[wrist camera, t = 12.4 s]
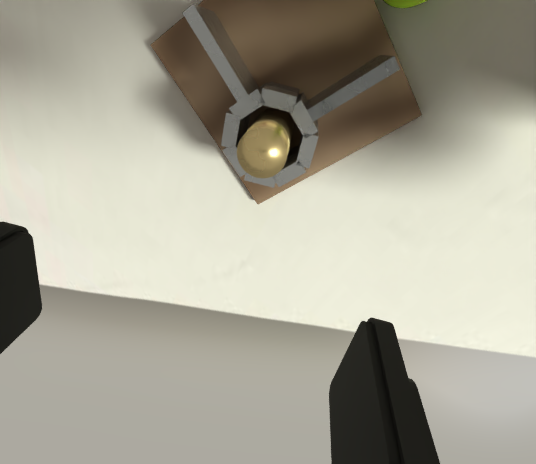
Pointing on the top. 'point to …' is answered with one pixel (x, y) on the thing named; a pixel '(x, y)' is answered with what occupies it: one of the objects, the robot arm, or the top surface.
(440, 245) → the top surface
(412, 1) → the soap dispenser
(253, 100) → the hinge
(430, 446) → the robot arm
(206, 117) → the hinge base
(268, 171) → the hinge pin
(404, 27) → the top surface
